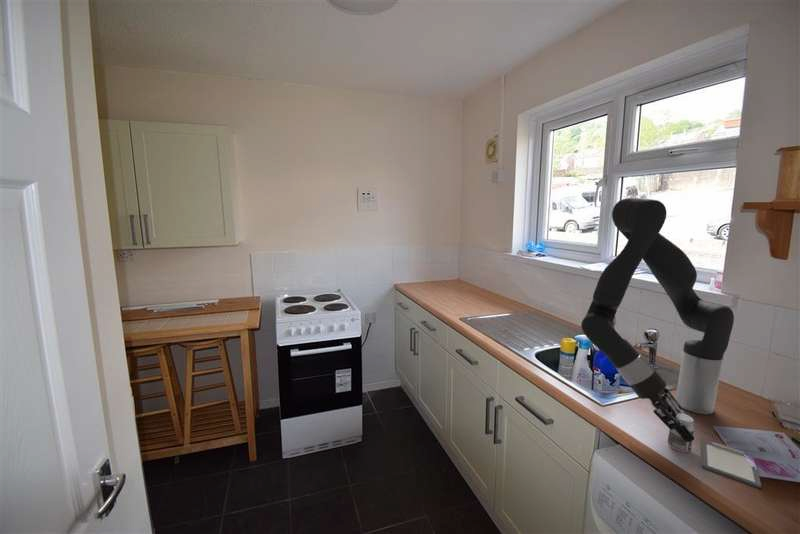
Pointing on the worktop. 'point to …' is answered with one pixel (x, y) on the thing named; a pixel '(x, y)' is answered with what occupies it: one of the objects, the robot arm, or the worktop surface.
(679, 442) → the pill bottle
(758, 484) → the tray
